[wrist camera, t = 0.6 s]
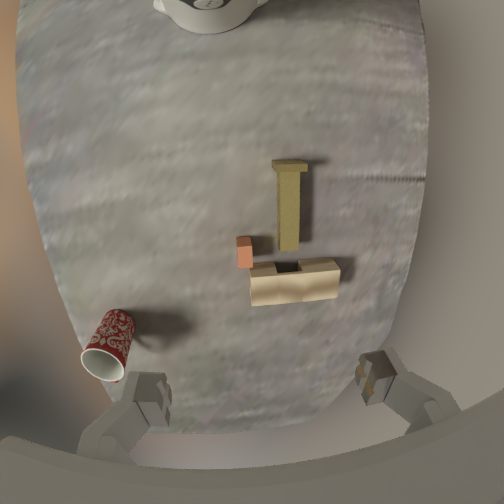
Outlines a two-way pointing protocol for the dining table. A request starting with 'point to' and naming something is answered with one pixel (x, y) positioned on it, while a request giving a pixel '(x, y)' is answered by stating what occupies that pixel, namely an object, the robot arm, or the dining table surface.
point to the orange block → (244, 252)
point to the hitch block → (294, 282)
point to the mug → (109, 347)
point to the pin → (288, 202)
